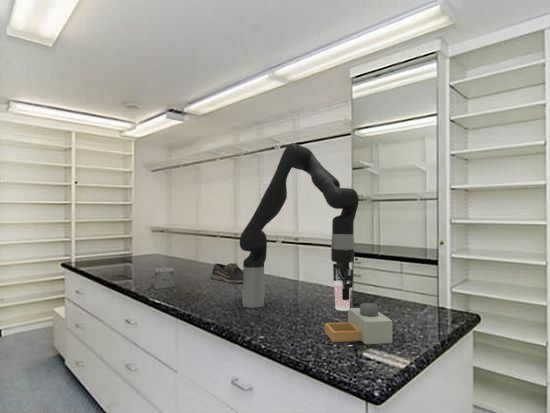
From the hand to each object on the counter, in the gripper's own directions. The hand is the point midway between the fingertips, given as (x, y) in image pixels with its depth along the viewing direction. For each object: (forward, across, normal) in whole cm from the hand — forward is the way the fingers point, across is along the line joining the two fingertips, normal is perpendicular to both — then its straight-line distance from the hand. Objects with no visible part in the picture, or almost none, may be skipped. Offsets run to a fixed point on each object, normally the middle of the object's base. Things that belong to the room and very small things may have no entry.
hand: (342, 297), depth 120 cm
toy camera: (+13, 0, +4) cm, 14 cm away
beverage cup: (+4, 0, 0) cm, 4 cm away
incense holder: (+13, -84, -71) cm, 111 cm away
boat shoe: (+13, -99, -36) cm, 106 cm away
